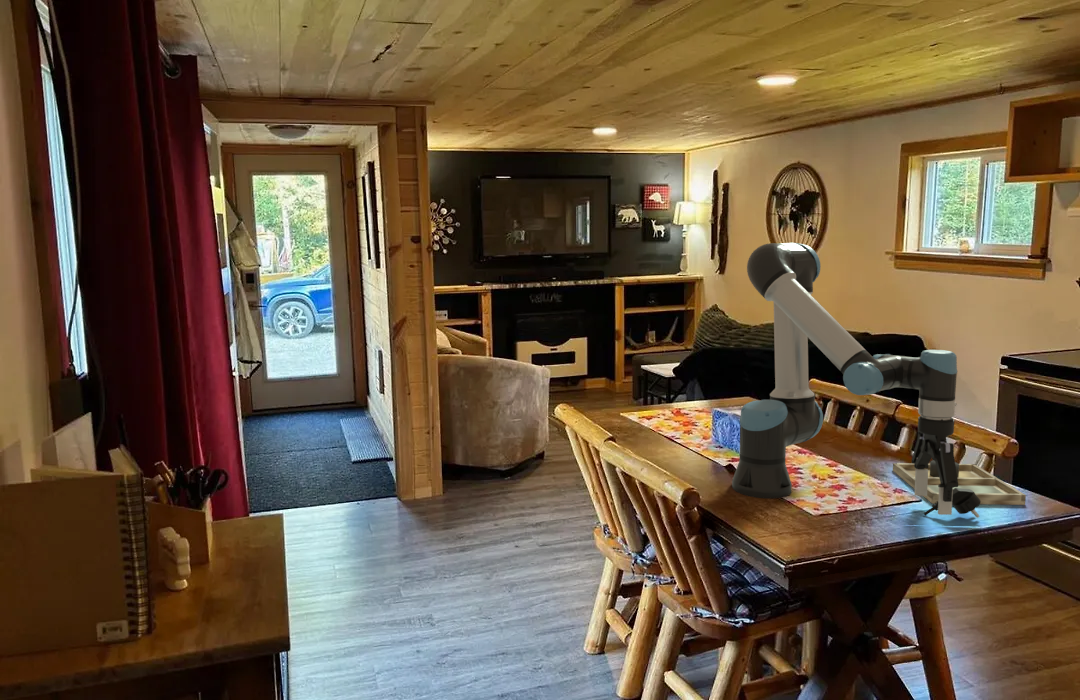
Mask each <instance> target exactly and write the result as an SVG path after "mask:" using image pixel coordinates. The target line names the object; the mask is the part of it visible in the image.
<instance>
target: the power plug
mask: <svg viewBox="0 0 1080 700" xmlns="http://www.w3.org/2000/svg"><path fill="white" fill-rule="evenodd" d="M980 502H981V501H980V499H979V498H978V497H977V495H976V494H975V493H974V492H973V491H972V490H970V489H961V488H954V489H953V495H952V508H954V509H955V511H956V512H957V513H958V514H959V515H965V514H968V513H971V514H972V515H974V517H976V518H977V519H978V518H980V515H979V513H978V512H977V511H976V510H975V509H976V508H978V507H979V506H980V505H981V504H980ZM933 511H937V512H938V501H937V503H935V504H932V505H931V508H929V509H928V510H926V511H924V512H923V514H922V515H924V516H927V515H928V514H930V513H932V512H933Z"/></svg>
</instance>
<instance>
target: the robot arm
mask: <svg viewBox="0 0 1080 700" xmlns="http://www.w3.org/2000/svg"><path fill="white" fill-rule="evenodd" d="M746 272H747V276H748V279H749V281H750V282H751V285H752V286H753V288H754V289H755V290H756V291H757V293H758V294H759V295H760V296H762V297H763V298H764V299H765V300H766V301H767V302H773V331H774V332H773V333H774V334H773V336H774V338H773V339H774V340H773V341H774V378H775V379H774V380H775V382H774V384H775V388H774V389H773V390H772V391H771V392H770V393H769V399H761V400H753V401H750V402H747V403H745V404H744V405H743V406H742V407H741V409H740V417H739V460H738V461H739V462H738V464H737V466H736V469H735V471H734V475H733V478H732V481H731V488H732V489H733V491H734V492H736V493H738V494H741V495H744V496H746V497H751V498H755V499H765V500H766V499H767V500H768V499H769V500H770V499H780V498H785V497H788V496H790V495H791V494H792V492H793V491H792V490H793V489H792V487H793V485H792V481H791V478H790V475H789V471H788V468H787V465H786V456H787V455H786V451H787V447H790V446H792V445H796V444H801V443H804V442H807V441H809V440H810V439H812V438H814V437H815V436H817V434H819V432H820V430H821V429H822V427H823V423H824V413H823V411H822V408H821V406H820V405H819V404H818V402H817V401H816V397H815V392H813V391H812V390H811V389H810V386H809V344H808V342H809V341H808V339H809V340H810V341H811V342H812V343H813V344H814V345H815V346H816V347H817V348H818V350H820V351H821V352H822V353H823V355H825V357H826V358H828V359H829V361H830V362H831V363H832V364H833V365H834V366H835V367H836V368H837V369H838V370H839V371H840V372H841V373H842V375H843V376H842V380H843V385H844V386H845V388H846V390H848V391H849V392H850V393H851V394H854V395H856V396H869V395H875V394H876V393H879V392H881V391H886V390H887V391H888V390H891V389H894V388H904V389H913V390H918V391H919V393H918V394H919V395H918V410H917V413H918V415H920V416H918V417H917V419H918V420H917V439H916V443H915V447H914V451H913V455H912V457H911V458H912V459H911V463H912V464H914V467H915V468H916V469H915V489H914V496H915V497H920V496H921V497H924V496H927V486H928V470H927V469H924V468H928V467H929V465H928V464H930V461H932V460H934V461H935V463H936V467H937V471H938V474H939V478H940V482H941V484H939V485H938V487H939V499H938V510H937V514H938V515H941V516H942V515H948V516H949V515H950V516H951V515H952V514H953V505H952V495H953V488H954V487H958V478H957V472H956V466H955V462H956V460H955V455H954V450H955V449H954V447H955V445H954V443H953V442H947V437H948V436H952V435H953V434H954V433H955V419H954V416H955V412H956V411H955V409H956V407H957V406H958V405H957V403H956V388H957V375H958V367H957V366H958V365H957V364H958V362H957V359H958V358H957V355H956V353H955V352H953V351H950V350H945V349H926V350H922V352H920V356H918V357H912V356H905V355H893V354H891V353H885V354H881V353H880V354H878V353H877V354H873V356H872V355H871V354H870V353H869V352H868V351H867V350H866V349H865V348H864V346H862V344H860V342H859V341H857V340H856V339H855V337H854V336H852V334H850V333H849V332H848V331H847V329H846V328H844V327H843V325H841V324H840V323H839V321H837V319H836V318H835V317H833V315H831V314H830V313H829V311H828V310H826V308H825V307H824V306H822V305H821V303H819V302H818V300H817V299H816V298H814V296H812V294H813V293H814V282H815V281H816V280H817V278H819V275H820V273H821V261H820V257H819V255H818V254H817V252H816V250H814V249H813V248H812V247H811V246H809V245H807V244H804V243H800V242H799V243H798V242H783V243H781V242H779V243H775V242H773V243H772V242H771V243H769V242H768V243H765V244H762V245H760V246H758V247H757V248H756V249H754V250H753V251H752V252H751V254H750V256H749V258H748V260H747V263H746ZM931 459H932V460H931Z"/></svg>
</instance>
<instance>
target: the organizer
mask: <svg viewBox="0 0 1080 700" xmlns="http://www.w3.org/2000/svg"><path fill="white" fill-rule="evenodd" d="M958 464H959V477H958V487H954V488H961V489H970V490H972V491H973V492H974V493H975V494H976V495H977V497H978V498H979V499H980V501H981V502H980V504H979V505H1000V506H1001V505H1007V506H1008V505H1009V506H1011V505H1013V506H1014V505H1019V506H1020V505H1021V506H1025V505H1026V500H1027V498H1026V497H1027V495H1026V494H1025V493H1023V492H1021V491H1020V490H1019V489H1017V488H1015V487H1013V486H1011V485H1010V484H1008V483H1007V482H1005V481H1003V480H1001V479H1000V478H998V477H997V476H995V475H993V474H991V473H990V472H989V471H987V470H985V469H984V468H982V467H980V466H979V465H978V464H974V463H958ZM928 465H929V467H928V468H924V469H927V470H928V486H927V496H923V497H924V498H925V499H926V500H927V501H929V502H930V503H931V504H932V505H933V504H934V505H935V503H937V501H938V499H939V487H938V485H939V484H941V482H940V478H939V477H932V476H930V463H928ZM915 469H916V468H915V467H914V464H912V462H911V463H908V462H907V463H902V462H901V463H900V462H896V463H894V462H893V463H892V472H894V473H895V474H896V475H897V476H899V478H901V479H902V480H903V481H904V482H906V483H907V484H908V485H909V486H910V487H911V488H913V489H914V490H915ZM954 488H953V489H954Z"/></svg>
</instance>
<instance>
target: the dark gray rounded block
mask: <svg viewBox="0 0 1080 700" xmlns="http://www.w3.org/2000/svg"><path fill="white" fill-rule="evenodd" d="M929 464H930V476H932V477H939V474H938V471H937V467H936V463H935V461H934V460H933V459H932V460H930V462H929ZM959 464H960V463H958V462H957V461H955V466H956V472H957V478H958V477H959Z"/></svg>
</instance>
